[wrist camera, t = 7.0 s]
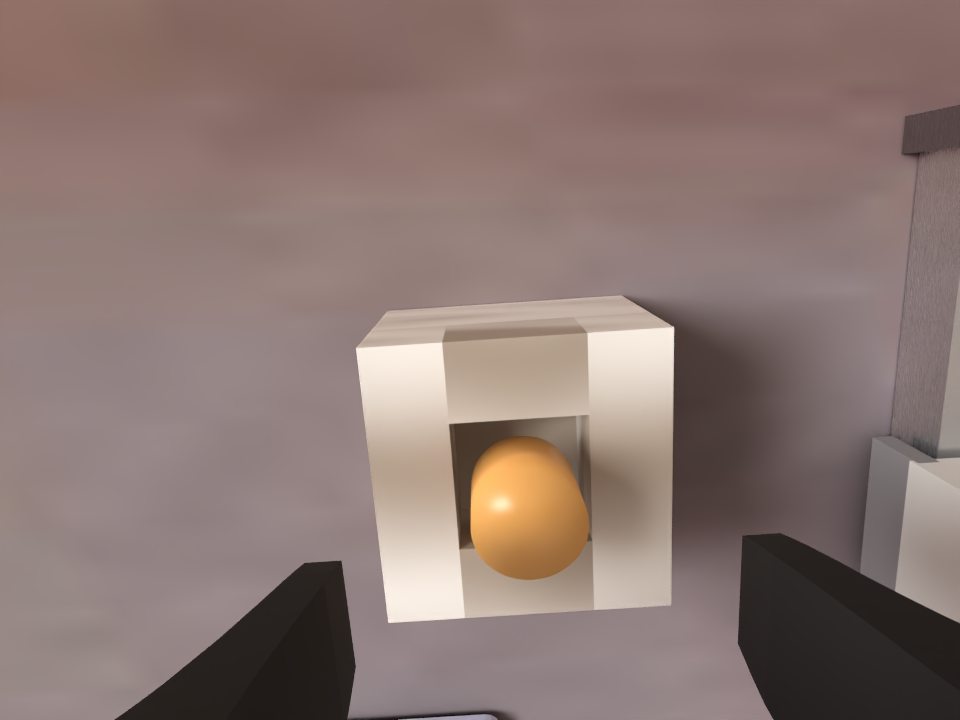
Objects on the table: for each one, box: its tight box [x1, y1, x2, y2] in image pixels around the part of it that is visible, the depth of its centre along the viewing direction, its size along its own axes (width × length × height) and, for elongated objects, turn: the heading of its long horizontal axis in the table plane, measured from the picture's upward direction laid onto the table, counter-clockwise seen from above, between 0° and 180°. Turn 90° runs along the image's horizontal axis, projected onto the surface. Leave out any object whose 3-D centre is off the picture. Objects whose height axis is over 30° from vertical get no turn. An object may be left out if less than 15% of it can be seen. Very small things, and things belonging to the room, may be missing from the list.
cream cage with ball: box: [356, 295, 674, 623], centre depth 17 cm, size 7×7×5 cm
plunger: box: [471, 436, 589, 580], centre depth 13 cm, size 2×2×2 cm
